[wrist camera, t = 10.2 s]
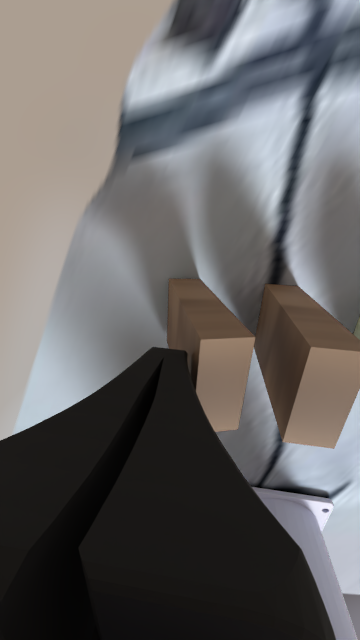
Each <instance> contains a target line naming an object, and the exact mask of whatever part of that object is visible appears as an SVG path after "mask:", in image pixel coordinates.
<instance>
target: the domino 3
mask: <svg viewBox="0 0 360 640" xmlns="http://www.w3.org/2000/svg"><path fill="white" fill-rule="evenodd" d="M353 335H354V336H356V337H357V338H358V339H359V340H360V317H359V319H358V322H357V325H356V328H355V331H354V333H353Z"/></svg>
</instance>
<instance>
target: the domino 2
mask: <svg viewBox="0 0 360 640" xmlns="http://www.w3.org/2000/svg"><path fill="white" fill-rule="evenodd" d="M254 349H255V352H256V355H257V359H258V362H259V365H260V369H261V372H262V375H263V379H264V382H265V385H266V388H267V392H268V395H269V398H270V402H271V405H272V408H273V412H274V415H275V418H276V421H277V425H278V428H279V431H280V435H281V438H282V441H283V442H288V443H295V444H303V445H311V446H318V447H326V448H333V449H334V448H335V445H336V443H337V441H338V438H339V436H340V434H341V431H342V429H343V427H344V424H345V422H346V419H347V417H348V415H349V412H350V410H351V408H352V405H353V403H354V401H355V398H356V396H357V394H358V391H359V389H360V340H359V339H358V338H357V337H356V336H354V335H353V334H352V333H351V332H350V331H349V330H348V329H346V328H345V327H344V326H343V325H342V324H341V323H340V322H339V321H337V320H336V319H335V318H334V317H333V316H332V315H331V314H329V313H328V312H327V311H326V310H325V309H324V308H323V307H321V306H320V305H319V304H318V303H317V302H316V301H315V300H313V299H312V298H311V297H310V296H309V295H308V294H307V293H305V292H304V291H303V290H302V289H301V288H300V287H299V286H289V285H276V284H265V288H264V293H263V298H262V303H261V309H260V314H259V319H258V324H257V330H256V335H255V342H254Z"/></svg>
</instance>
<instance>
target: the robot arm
mask: <svg viewBox="0 0 360 640" xmlns="http://www.w3.org/2000/svg"><path fill="white" fill-rule="evenodd" d="M187 358H188V353H187V352H186V351H185V350H176V349H166V348H157V347H152V348H151V349H150V350H149V351H147V352H146V353H145V354H144V355H143V356H141V357H140V358H139V359H138V360H137V361H136V362H134V363H133V364H132V365H131V366H130V367H128V368H127V369H126V370H125V371H123V372H122V373H121V374H120V375H118V376H117V377H116V378H114V379H113V380H111V381H110V382H109V383H107V384H106V385H105V386H103V387H102V388H100V389H99V390H97V391H96V392H94V393H93V394H91V395H90V396H88V397H86V398H85V399H83V400H81V401H80V402H78V403H76V404H75V405H73V406H71V407H69V408H68V409H66V410H64V411H62V412H60V413H58V414H56V415H54V416H52V417H50V418H48V419H46V420H44V421H42V422H40V423H38V424H36V425H34V426H32V427H30V428H28V429H26V430H24V431H21V432H19V433H17V434H15V435H12V436H10V437H8V438H6V439H3V440H1V441H0V640H358V639H357V636H356V633H355V630H354V627H353V624H352V621H351V618H350V615H349V612H348V609H347V607H346V604H345V601H344V598H343V595H342V592H341V589H340V586H339V583H338V580H337V577H336V574H335V571H334V568H333V565H332V562H331V559H330V556H329V553H328V550H327V547H326V544H325V541H324V538H323V535H322V530H323V528H324V526H325V524H326V522H327V520H328V518H329V516H330V514H331V512H332V510H333V508H334V505H333V502H332V500H331V499H329V498H323V497H317V496H310V495H303V494H297V493H290V492H283V491H277V490H270V489H263V488H257V487H251V486H250V484H249V483H248V482H247V480H246V479H245V478H244V476H243V475H242V473H241V472H240V470H239V469H238V467H237V466H236V464H235V463H234V461H233V460H232V458H231V457H230V455H229V454H228V452H227V451H226V449H225V448H224V446H223V445H222V443H221V441H220V440H219V438H218V436H217V435H216V433H215V431H214V429H213V428H212V426H211V424H210V422H209V420H208V418H207V416H206V414H205V412H204V410H203V408H202V405H201V403H200V401H199V398H198V396H197V393H196V391H195V388H194V385H193V382H192V379H191V376H190V372H189V367H188V361H187Z"/></svg>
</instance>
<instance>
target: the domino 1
mask: <svg viewBox="0 0 360 640" xmlns="http://www.w3.org/2000/svg"><path fill="white" fill-rule="evenodd" d="M254 342H255V336H254V335H253V334H252V333H251V332H250V331H249V330H248V329H247V328H246V327H245V326H244V325H243V324H242V323H241V321H240V320H239V319H238V318H237V317H236V316H235V315H234V314H233V313H232V312H231V311H230V310H229V309H228V308H227V307H226V306H225V305H224V304H223V303H222V302H221V301H220V299H219V298H218V297H217V296H216V295H215V294H214V293H213V292H212V291H211V290H210V289H209V288H208V287H207V286H206V285H205V284H204V283H203V282H202V281H201V280H200V279H169V290H168V325H167V343H168V346H169V349H176V350H185V351H186V352H187V353H188V358H187V361H188V367H189V372H190V376H191V379H192V382H193V385H194V388H195V391H196V393H197V396H198V398H199V401H200V403H201V405H202V408H203V410H204V412H205V414H206V416H207V418H208V420H209V422H210V424H211V426H212V428H213V429H214V431H215V432H219V431H228V430H237V429H238V426H239V420H240V415H241V410H242V405H243V400H244V394H245V389H246V384H247V379H248V373H249V368H250V363H251V358H252V353H253V347H254Z"/></svg>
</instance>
